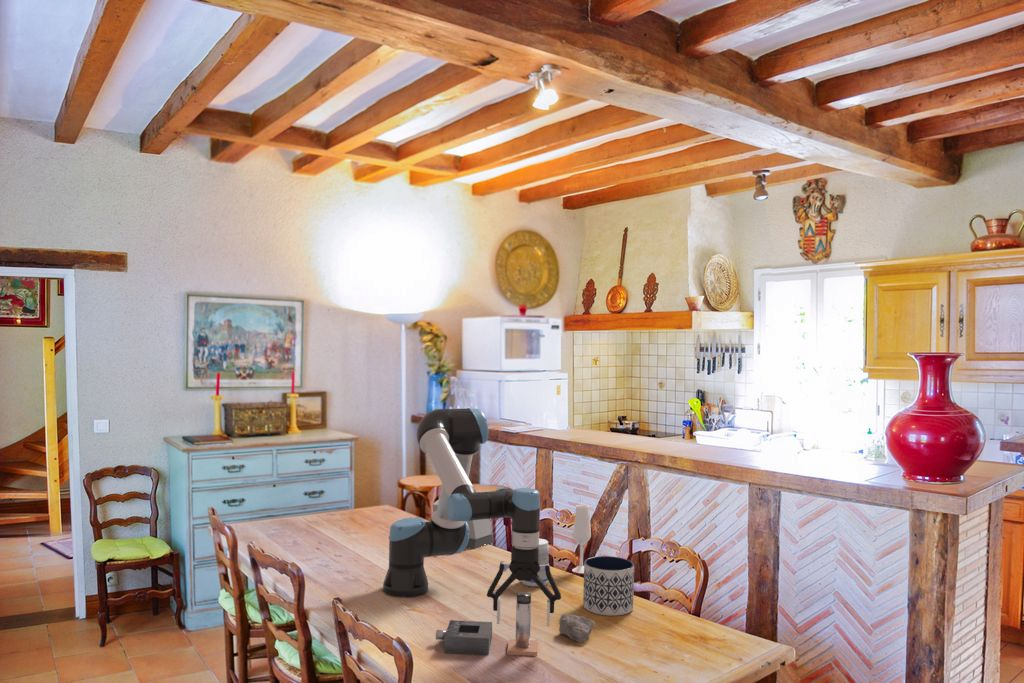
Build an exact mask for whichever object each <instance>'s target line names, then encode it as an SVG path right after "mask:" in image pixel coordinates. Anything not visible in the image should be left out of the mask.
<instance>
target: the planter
mask: <svg viewBox="0 0 1024 683" xmlns="http://www.w3.org/2000/svg"><path fill="white" fill-rule="evenodd" d="M583 566H584V573H583V594H582V595H583V596H582V598H583V599H582V602H583V603H582V606H583V607H584V609H585V610H587V611H588V612H590V613H592V612H593V613H592V614H596V615H599V614H600V615H601V616H605V615H606V616H609V617H617V616H618V617H619V616H624V615H627V614H629V613H631V612H632V611H633V610H634V591H635V583H634V582H635V564H634V562H633V561H631V560H629V559H627V558H622V557H618V556H608V555H598V556H593V557H592V556H591V557H588V558H586V559H585V560H583ZM600 615H599V616H600Z"/></svg>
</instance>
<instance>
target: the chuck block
mask: <svg viewBox="0 0 1024 683" xmlns="http://www.w3.org/2000/svg"><path fill="white" fill-rule="evenodd" d="M492 639H493V621H478V620H454V619H452V620H449V622H448V626H447V628H446V630H439V629H436V631H435V640H439V641H440V640H443V642H444V643H443V653H444V654H453V655H455V654H456V655H457V654H459V655H476V656H477V655H478V656H490V655H489V653H490V650H491V644H492Z"/></svg>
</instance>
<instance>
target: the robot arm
mask: <svg viewBox="0 0 1024 683" xmlns="http://www.w3.org/2000/svg"><path fill="white" fill-rule="evenodd" d="M488 438H489V424H488V419H487V416H486V415H485V413H484V412H483V411H482V409H479V408H470V407H468V408H436V409H433V410H431V411H429V412H427V413H426V414H425V415H424V416H423V417H422V418H421V420H420V421H419V423H418V426H417V429H416V442H417V444H418V446H419V448H420V450H421V451H422V452H423V453H424V454H426V455H427V456H428V458H429V460H430V463H431V464H432V466H433V468H434V471H435V472H436V474H437V476H438V478H439V481H440V483H441V487H440V491H439V497H438V500H439V502H438V508H437V511H435V512H434V511H433V512H432V514H431V516H430V517H431V518H430V521H425V519H424V518H422V517H417V516H416V517H406V518H401V519H398V520H396V521H394V522H393V523H392V524H391V525H390V528H389V536H388V541H389V543H388V544H389V545H388V553H389V554H388V568H387V572H386V575H385V577H384V580H383V584H382V592H383V593H384V594H386V595H388V596H391V597H398V598H411V597H417V596H421V595H424V594H426V593H428V591H429V580H428V576H427V574H426V573H427V572H426V570H425V566H424V565H425V561H424V560H425V558H429V557H439V556H452V555H457V554H460V553H463V552H464V551H465V549H466V546H467V544H468V540H469V533H468V532H469V526H468V523H467V522H466V521H472V520H481V519H499V518H508V519H510V520H511V545H512V546H511V549H510V550H511V551H510V552H511V553H510V556H511V557H510V560H511V561H510V563H506V562H504V560H503V561H500V563H499V569H498V570H497V572H496V575H495V577H494V579H493V580H492V582H491V584H490V586H489V588H488V589H487V593H486V596H487V598H491V599H492V600H493V603H492V604H493V605H492V610H493V611H494V612H496V625H500V624H501V606H502V604H501V603H502V602H501V601H502V599H501V598H502V597H501V596H502V595H503V593H504V592H505V591H506V590H507V588H509V586H510V585H512V583H513V582H515V580H518V582H519V581H520V582H521V581H523V580H525V581H530V580H532V579H533V581H534V582H535V583H536V584H537V585H538V588H539V589H540V590H541V591H542V592H543V594H544V595H545V596H546V597H547V600H546V601H547V603H546V604H547V605H546V627H551V626H550V623H551V622H550V620H551V614H554V613H555V603H556V601H560V600H561V599H562V594H561V592H560V589H559V588H558V585H557V584H556V581H555V579H554V577H553V575H552V572H551V567H550V566H551V565H550V563H546V564H545V565H539V548H538V547H537V546H538V545H539V539H540V518H541V517H540V516H541V515H540V514H541V499H540V498H541V497H540V494H541V493H540V492H539V490H538V489H535V488H531V487H518V488H515V489H511V488H508V487H507V488H506V487H500V488H497V489H496V490H494V491H479V492H478V491H477V490H476V489H475V487H474V486H473V484H472V481H471V480H470V473H471V472H470V471H471V468H472V461H473V457H474V455H476V454H477V453H478V452H479V449H480V445H483V444H486V443H487V442H488ZM508 569H509V570H510V572H511V573H510V575H508V577H507V579H505V581H504V582H503V583H502V584H501V585H500V587H499V588H498V589H497V590H496V591H495V589H496V587H497V586H498V583H499V582H500V580H501V578H502V576H503V574H504V572H506V571H507V570H508ZM539 570H542V571H543V573H546V576H547V579H548V584H549V585H550V587H551V590H552V591H553V592H551V590H550V589H549V588H548V586H547V584H546V585H545V584H544V583H543V581H542V580H541V579H540V577H539V576H538V574H537V573H538V572H539ZM553 593H554V594H553Z"/></svg>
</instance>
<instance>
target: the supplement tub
mask: <svg viewBox="0 0 1024 683" xmlns="http://www.w3.org/2000/svg"><path fill="white" fill-rule="evenodd" d="M537 547H538V548H539V565H545V564H546V563H549V560H550V558H549V556H550V555H549V551H550V548H549V541H548V540H547V539H544V538H539V545H538V546H537ZM549 564H550V563H549ZM537 574H538V576H539V577H540V579H541V580H542V581H543V583H544V584H545V585H546V586H547V584H549V581H548V579H547V576H546V573H543V571H542V570H539V572H538V573H537ZM520 582H521V583H522V585H524V586H529V587H533V588H537V587H538V588H539V586H538V585H537V584H536V583H535V582H534V581H533V579H532V580H530V581H525V580H523V581H520Z"/></svg>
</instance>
